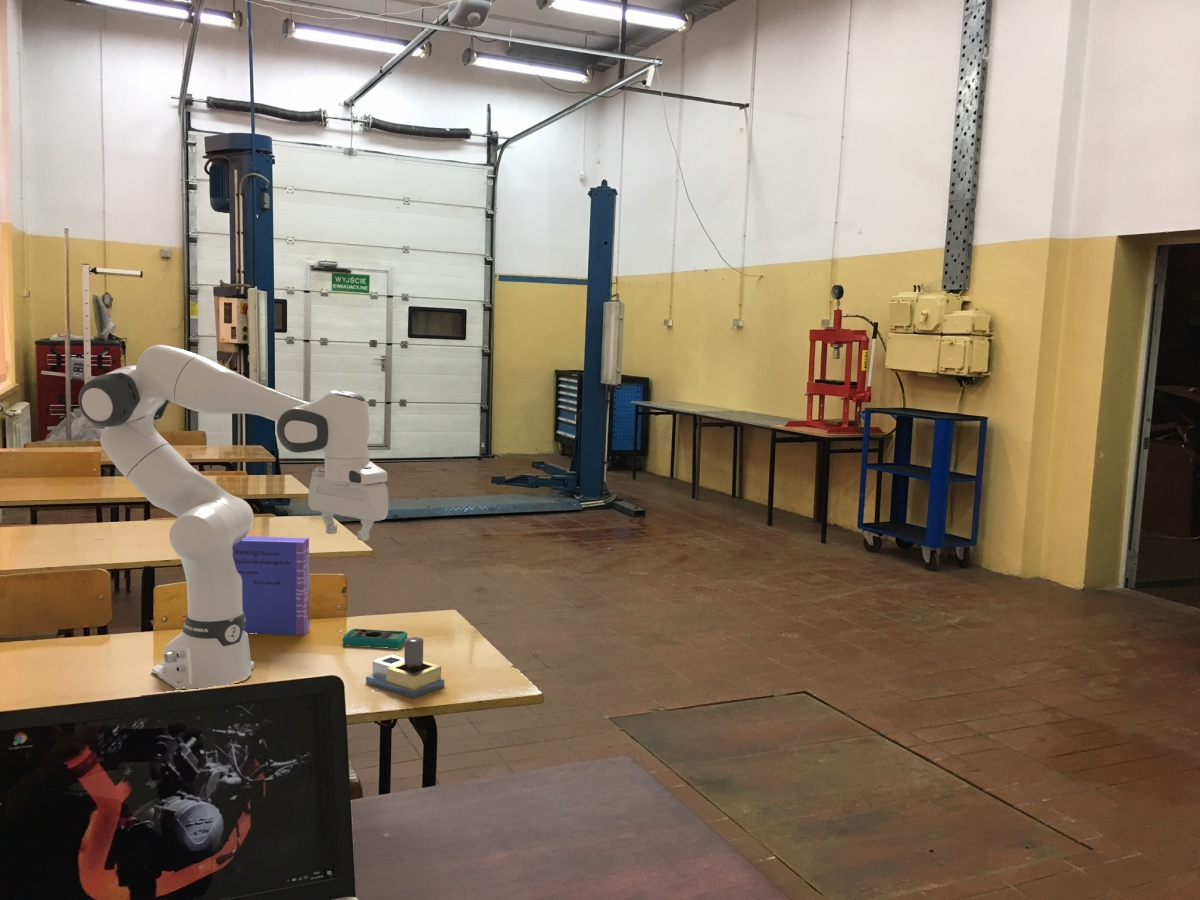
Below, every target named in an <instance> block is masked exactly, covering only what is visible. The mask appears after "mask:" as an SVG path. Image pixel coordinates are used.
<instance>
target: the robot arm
mask: <svg viewBox="0 0 1200 900" xmlns="http://www.w3.org/2000/svg"><path fill="white" fill-rule="evenodd" d="M77 399H78V407H79V409H80V411H81V413H82V415H83V416H84V418H86V420H87V421H89V422H90V423H92V424H93V425H95V426H98V427H102V428H103V427H104V428H103V430H102V432H101V434H100V436H99V437H100V438H99V442H100V446H101V448H102V449H103V451H104V453H105V454H106V455H107V457H108V458H109V460H110V461H111V462H112V464H113V465H114V466H115V468H117V469H118V471H119V472H120V473H121V474H122V475H123V476H124V477H125V479H127V481H129V482H130V483H131V484H132V486H133V487H135V489H137V491H139V493H141V495H142V496H144V497H145V498H146V499H147V501H149V503H150V504H152V505H153V506H154V507H157V508H159V509H161V510H165V511H167V512H169V513H171V514H172V515H174V516H175V517H177V519H176V520H175V522H174V523H173V524H172V525H171V527H170V530H169V542H170V544H171V548H172V549H173V551H174V552H175V553H176V554H177V555H178V556H179V557H180V561H181V565H182V568H183V571H184V575H185V580H186V592H187V593H186V595H187V614H186V615H183V616H181V617H180V618H182V619H181V620H180V622H184V624H183V627H182V631H181V632H180V633H179V634H177V636H175V637H174V638H173V639H172V640H170V641H169V642H168V643H167V644H166V645H165V646H164V651H163V661H162V662H160V663H158V664H156V665H154V666H153V667H152V668H151V672H152V671H153V672H154V673H155V674H157V675H158V676H159V677H158V676H157V675H156V676H157V677H158V678H160V679H161V680H162V679H163V680H162V681H164V682H165V683H166V684H168V685H170V686H171V685H172V686H171V687H173V688H174V689H176V688H178V689H177V690H179V691H181V689H185V690H191V689H193V690H194V689H205V688H204V687H213V686H221V685H227V684H232V683H233V682H234V681H239V680H242V679H243V678H246V677H249V676H250V675H251V676H252V670H253V669H254V668H255V661H253V660H252V659H251V658H252V657H251V651H250V641H249V634H247V632H245V631H244V629H245V613H244V611H243V605H242V577H241V575H240V574H239V573H238V572H237V569H236V566H235V563H234V559H233V545H235V544H236V543H238V542H240V541H241V540H243V539H244V538H245V536H247V535H248V534H249V532H250V531H251V529H252V528H253V525H254V521H255V515H254V511H253V509H252V507H251V505H250V504H249V503H248V502H247V501H246V500H245V499H242V498H241V497H237V496H235V495H233V494H231V493H229V492H228V491H226V490H225V489H223V488H222V487H221V486H219V485H218V484H216V483H215V482H214V481H212V480H210V479H209V478H207V477H206V476H204V474H203V473H200V472H199V471H198V470H197V469H196V468H194V467H193V466H192V465H191V464H190V463H189V462H188V460H186V459H185V458H184V456H182V455H181V454H180V453H179V451H178V450H176V449H175V448H174V447H173V446H172V445H171V444H170V443H169V442H168V440H166V439H165V438H164V437H163V436H162V435H161V434H160V432H159V431H157V429H156V428H155V424H154V421H156V420H160V419H162V417H163V415H164V414H165V411H166V408H167V407H168V406H169V404H170V403H173V404H176V405H178V406H180V407H183V408H185V409H189V410H191V411H194V412H198V413H203V414H209V415H230V414H232V415H233V414H249V415H255V416H259V417H262V418H265V419H268V420H270V421H271V420H272V421H274V422H276V436H277V439H278V440H279V443H280V444H281V446H283V448H285V450H287V451H289V452H292V453H297V454H308V453H313V452H317V451H322V452H323V454H324V466H321V465H320V466H316V467H315V468H314V469H313V470H312V472H311V479H310V482H309V487H308V496H307V497H308V500H307V505H308V506H309V509H310V510H311V511H315V512H321V518H322V521H323V523H324V524H325V525H324V526H325V533H326V534H329V535H335V534H337V533H338V525H337V524H335V522H334V518H333V517H334V516H335V515H338V516H344V517H347V518H354V519H359V520H360V525H362V527H361V528H360V530H359V531H357V540H358V541H363V542H365V541H368V540H369V538H370V530H372V527H373V525H374V522H378V521H379V522H380V521H382V520H385V519H387V517H388V513H389V490H388V487H387V485H386V483H385V482H387V481H388V479H389V478H388V472H387V471H386V470H385V469H384V468H383V469H382V468H381V467H380V466H378V465H376V464H375V463H374V462H372V461H370V452H369V449H368V441H369V438H370V416H369V415H370V414H369V407H368V404H367V403H368V402H367V400H366V398H365V397H364V396H363V395H361V394H359V393H357V392H353V391H349V390H341V389H333V390H330V391H328V392H327V393H326V394H324V395H322V396H321V397H320V398H317V399H315V400H313V401H311V400H303V399H301V398H298V397H296V396H293V395H291V394H287V393H285V392H283V391H279V390H277V389H274V388H271V387H269V386H266V385H263V384H261V383H258V382H257V381H254V380H253V379H250V378H249V377H248V378H247V377H246V376H244V375H242V374H240V373H238V372H236V371H233V370H232V369H229V368H228V367H225V366H224V365H222V364H219V363H217V362H216V361H214V360H211V359H208V358H207V357H206V356H202V355H200V354H198V353H195V352H191V351H188V350H185V349H181V348H179V347H175V346H171V345H170V346H169V345H166V344H154V345H152V346H150V347H148V348H146V349H145V350H144V351H143V352H142V353H141V354H140V357H138V360H137V363H136V364H133V365H126V366H123V367H119V368H116V369H114V370H112V371H110V372H107V373H104V374H100V375H97V376H94V377H92V378H91V379H90V380H88V381H87V382H86V383H85V384H84V385H83V386H82V387H81V388H80V390H79V394H78V398H77ZM251 669H252V670H251ZM154 673H153V674H154ZM155 674H154V675H155ZM251 676H250V677H251ZM250 677H249V678H250ZM183 687H185V688H183Z"/></svg>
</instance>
